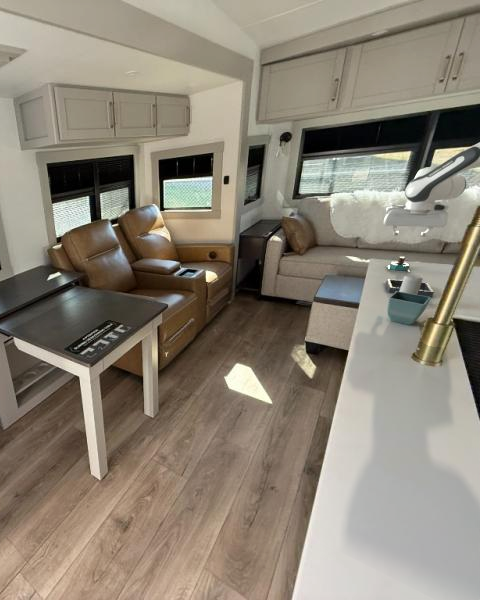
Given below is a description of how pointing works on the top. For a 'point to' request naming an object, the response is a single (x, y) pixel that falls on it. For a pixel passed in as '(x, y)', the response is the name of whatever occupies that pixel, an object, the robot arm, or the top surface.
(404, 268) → the ring
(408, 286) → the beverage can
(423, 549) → the top surface
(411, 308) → the flower pot
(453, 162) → the robot arm
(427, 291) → the tray
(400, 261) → the peg stand
